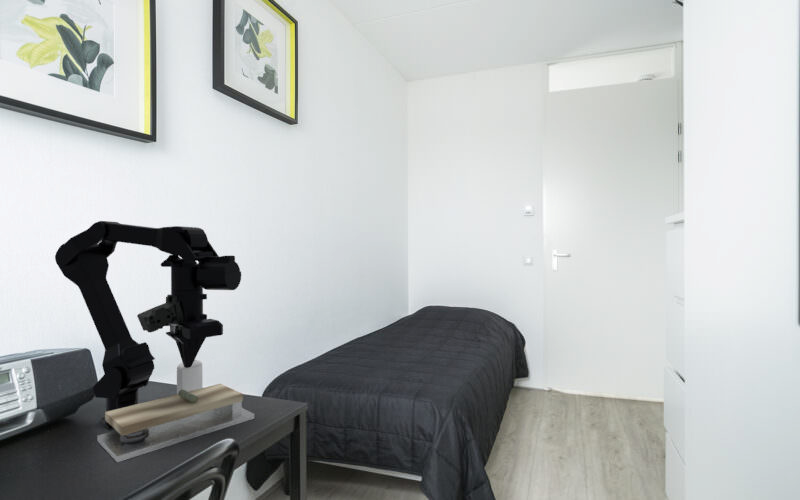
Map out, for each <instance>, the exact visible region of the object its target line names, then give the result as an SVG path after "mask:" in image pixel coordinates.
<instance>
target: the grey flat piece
mask: <svg viewBox="0 0 800 500" xmlns="http://www.w3.org/2000/svg"><path fill="white" fill-rule="evenodd" d="M242 403H243V401H241V402H238V403H234V404H231V405H227V406H224V407H220V408H217V409H213V410H210V411H206V412H203V413H199V414H196V415H192V416H189V417H185V418H182V419H178V420H175V421H171V422H168V423H164V424H161V425H157V426H154V427H150V428H147V429H143V430H140V431H137V432H133V433H130V434H126V435H123V436H122V435H121V434H119V433H118V432H117V431H116V430H114V431H113V430H112V431H109V432H106V433H103V434H98V435H97V436H96V437H97V439H96V440H97V443H98V444H99V445H100V446H101V447H102V448H103V449H104V450H105V451H106V453H108V455H110V456H111V458H112V459H113V460H114V461H115V462H116V463H121V462H123V461H126V460H128V459H132V458H136V457H138V456H142V455H144V454H147V453H151V452H154V451H158V450H160V449H163V448H167V447H171V446H173V445H176V444H179V443H182V442H186V441H189V440H192V439H194V438H198V437H200V436H203V435H204V436H205V435H207V434H210V433H213V432H217V431H220V430H222V429H226V428H228V427H232V426H235V425H236V426H237V425H238V424H239V425H240V424H241V423H244V422H249V421H251V420H253V419H255V413H253V412H251V411H250V410H247V409H245V408H244V407H243V406H242Z"/></svg>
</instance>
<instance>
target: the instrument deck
mask: <svg viewBox="0 0 800 500" xmlns="http://www.w3.org/2000/svg"><path fill="white" fill-rule="evenodd" d="M243 400H244V393H242V392H240V391H238V390H235V389H233V388H231V387H228V386H226V385H224V384H222V383H218V384H214V385H210V386H206V387H202V388H201V389H197V390H193V391H189V392H188V391H186V390H184V389H182V390H180V391H179V394H177V393H176V394H173V395H169V396H164V397H161V398H160V397H159V398H156V399H152V400H149V401H145V402H140V403H138V404H136V405H132V406H128V407H123V408H119V409H115V410H111V411H107V412H106V411H104V418H105V420H106V421H107V422H108V423H109V424H110V425H111V426H112V427H113V429H114V431H117V432H118V433H119V434H121V435H122V436H123V435H126V434H130V433H133V432H137V431H140V430H143V429H147V428H150V427H154V426H157V425H161V424H164V423H168V422H171V421H175V420H178V419H182V418H185V417H189V416H192V415H196V414H199V413H203V412H206V411H210V410H213V409H217V408H220V407H224V406H227V405H231V404H234V403H238V402H241V401H242V402H244V401H243Z"/></svg>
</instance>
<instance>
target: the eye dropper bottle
mask: <svg viewBox="0 0 800 500" xmlns="http://www.w3.org/2000/svg"><path fill="white" fill-rule="evenodd" d="M201 388H203V362H202V361H200V360H197V359H195V360H194V362H193V364H192V366H191V367H189V368H185V367H184V365H183V362H182V361H181V363H179V364H178V365H177V367H176V394H179V391H180V390H182V389H184V390H186V391H188V392H189V391H193V390H197V389H201Z"/></svg>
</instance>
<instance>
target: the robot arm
mask: <svg viewBox="0 0 800 500" xmlns="http://www.w3.org/2000/svg"><path fill="white" fill-rule="evenodd" d="M118 242H119V243H123V244H124V243H126V244H133V245H141V246H147V247H148V246H149V247H153V248H155V249H157V250H159V251H161V252H163V253H165V254H169V256H167V258H166V259H165V260H163V261H162V262H161V263H160V266H161V267H162V268H163V267H165V268H167V267H168V268H170V275H171V276H170V294H167V296H166V297H165V303H162V304H160V305H157V306H154V307H152V308H149V309H147V310H145V311H143V312H140V313H138V314H137V315H136V317H137V319H138V321H139V323H140V326H141V327H142V328H141V329H142V330H143V331H147V332H148V333H154V332H156V331H158V330H160V329H163V327H169V331H165V334H166V335H167V336H169V337H170V338H171V339H172V340H174V341H175V344H176V347H177V349H178V352H179V355H180V360H181V363H182V362H183V365H184V367H185V368H189V367H191V366H192V364H193V362H194V360H196V357H197V355H198V353H199V352H200V350H201V348H202V345H203V343H204V342H205V340H206V339H207V338H210V337H212V338H213V337H218V336H223V334H224V324H223V323H222V322H221V321H219V320H217V319H214V318H208V314H206V313H204V309H203V308H204V300H208V294H207V293H204V290H207V291H208V290H210V291H235V290H236V289H238V287H239V286H240V283H241V281H242V271H241V269H240V266H239V264H238V262H236V256H235V255H221V256H219V254H218V253H217V251H216V250H215V249H214V247H213V245H212V244H211V243H210V242H209V240H208V236H207V233H206V232H205V230H204V229H202V228H200V227H195V226H178V225H177V226H176V225H175V226H174V225H173V226H163V227H158V228H157V227H150V226H141V225H134V224H133V225H132V224H126V223H120V222H119V221H110V220H109V221H108V220H106V221H105V220H99V221H96V222H94V223H93V224H92V225H90V226H89V228H87V229H86V230H83V231H82V232H80V233H78V234H76V235H74V236H71V237H70V238H69V239H68V240H67V241H66V242H64V243H62V244H61V245H60V246H59V247H58V249H57V250H56V252H55V256H54V259H55V263H56V264H57V266H58V268H59V270H60V271H61V273H62V274H63V276H64V277H65V278H66V279H68V280H69V281H70V282H72V283H73V284H75V286H77V287H78V289H79V292H80V293H81V296H82V298H83V300H84V302H85V305H86V307H87V309H88V313H89V314H90V316H91V319H92V321H93V324H94V325H95V328H96V330H97V333H98V336H99V338H100V340H101V342H102V345H103V347H104V354H103V359H102V365H101V366H102V369H103V376H102V377H100V379H99V380H97V382H96V383H95V384H94V385H93V386H92V391H93V393H94V397H95V398H99V399H105V412H107V411H111V410H115V409H119V408H123V407H128V406H132V405H136V404H139V389H141V388H143V387H147V386H148V384H149V381H150V378H151V376H152V375H153V372H154V370H155V362H154V360H155V359H156V358H155V357H154V355H153V354H152V352H151V350H150V346H149V344H148V343H147V342H145V341H144V342H141V343H138V342H137V341H136V340H135V339H133V337H132V335H131V333H130V331H129V329H128V326H127V324H126V321H125V319H124V317H123V315H122V313H121V310H120V308H119V305H118V303H117V301H116V299H115V297H114V294H113V291H112V289H111V287H110V285H109V282H108V280H107V274H108V270H109V261H108V258H109V257H110V256H111V255H112V254H113V253H114V252H115V251H116V246H117V244H118ZM197 262H198V263H197ZM99 422H100V423H101V424H103V426H104V427H106V429H108V430H113V429H114V428H113V427H112V426H111V425H110V424H109V423H108V422H107V421H106V420H105V417H102V418H100V419H99Z"/></svg>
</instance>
